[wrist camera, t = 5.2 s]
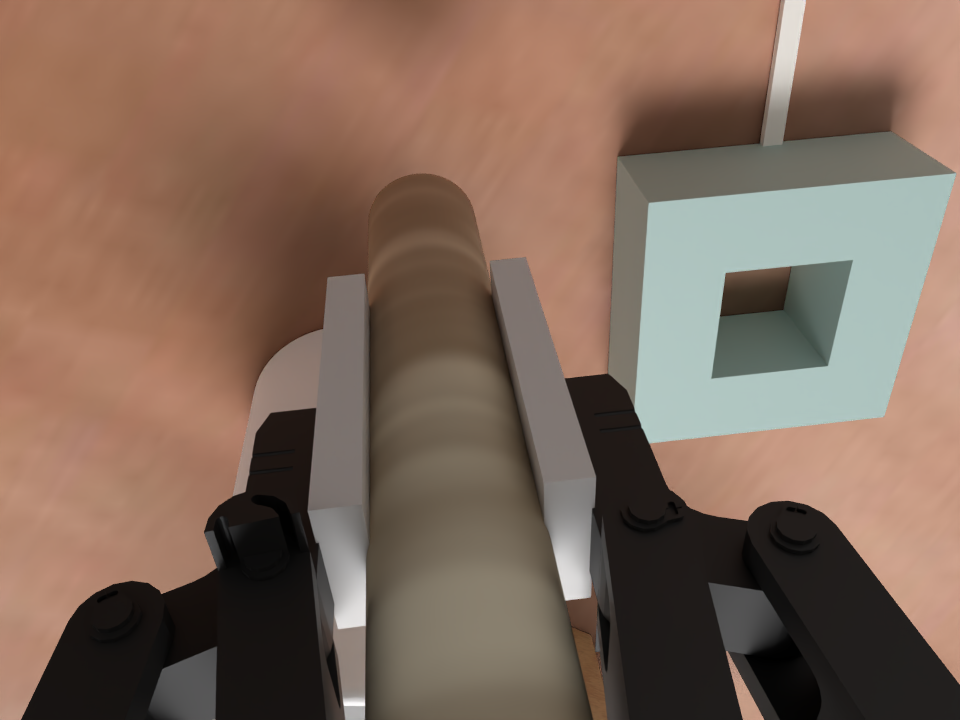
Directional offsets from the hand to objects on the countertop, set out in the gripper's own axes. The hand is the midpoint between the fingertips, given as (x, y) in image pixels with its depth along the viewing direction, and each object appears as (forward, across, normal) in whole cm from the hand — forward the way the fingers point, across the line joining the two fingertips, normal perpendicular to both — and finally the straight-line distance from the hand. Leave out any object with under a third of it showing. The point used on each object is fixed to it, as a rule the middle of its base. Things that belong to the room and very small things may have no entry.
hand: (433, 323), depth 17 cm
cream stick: (+12, +13, +2) cm, 18 cm away
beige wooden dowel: (+5, 0, 0) cm, 5 cm away
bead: (+12, +12, -7) cm, 18 cm away
